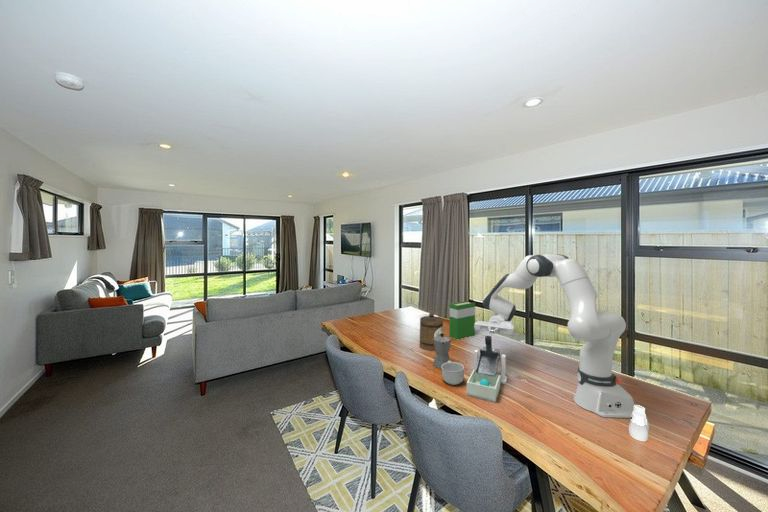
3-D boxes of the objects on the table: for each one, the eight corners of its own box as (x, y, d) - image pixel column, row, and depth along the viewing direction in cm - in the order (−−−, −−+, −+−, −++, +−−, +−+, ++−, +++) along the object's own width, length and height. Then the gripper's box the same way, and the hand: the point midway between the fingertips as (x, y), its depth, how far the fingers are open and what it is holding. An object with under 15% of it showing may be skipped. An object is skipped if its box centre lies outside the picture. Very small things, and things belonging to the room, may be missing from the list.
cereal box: (466, 332, 218) (467, 300, 216) (474, 335, 211) (475, 302, 210) (449, 337, 208) (449, 303, 207) (457, 340, 202) (457, 305, 201)
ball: (488, 386, 137) (488, 377, 136) (489, 390, 133) (489, 382, 132) (479, 385, 137) (479, 376, 137) (480, 389, 134) (480, 381, 133)
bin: (500, 387, 137) (500, 375, 137) (495, 402, 125) (495, 388, 124) (473, 381, 143) (473, 369, 143) (466, 395, 131) (466, 382, 130)
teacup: (464, 388, 137) (464, 371, 136) (441, 386, 139) (441, 369, 138) (462, 374, 150) (462, 359, 150) (441, 373, 152) (441, 358, 152)
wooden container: (441, 351, 181) (441, 316, 180) (417, 349, 186) (417, 315, 185) (444, 343, 195) (444, 311, 194) (422, 341, 200) (422, 309, 199)
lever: (502, 355, 150) (500, 330, 143) (497, 383, 136) (495, 357, 130) (481, 351, 155) (479, 327, 148) (475, 378, 141) (472, 353, 134)
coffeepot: (452, 371, 154) (452, 337, 153) (434, 370, 155) (434, 337, 154) (448, 359, 170) (448, 328, 169) (432, 358, 171) (432, 328, 170)
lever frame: (507, 378, 146) (507, 354, 145) (505, 384, 141) (506, 358, 140) (474, 371, 153) (474, 348, 153) (471, 376, 148) (472, 352, 148)
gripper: (476, 316, 169) (471, 323, 157) (515, 321, 159) (513, 328, 147) (476, 327, 170) (471, 334, 157) (515, 333, 160) (512, 341, 148)
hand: (491, 331), depth 152 cm, fingers closed
